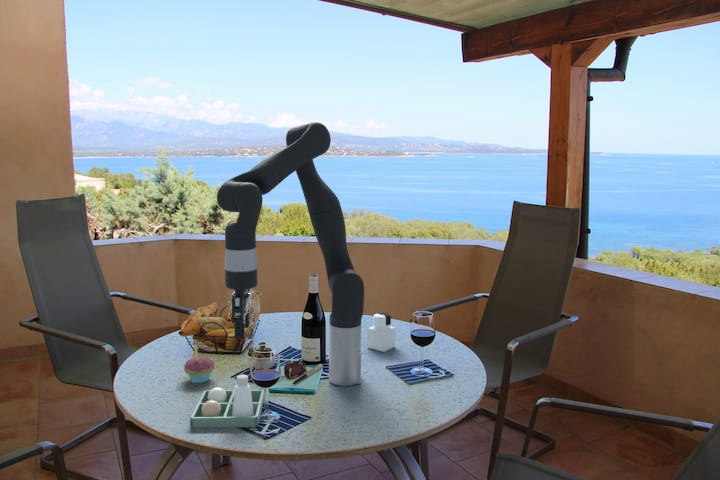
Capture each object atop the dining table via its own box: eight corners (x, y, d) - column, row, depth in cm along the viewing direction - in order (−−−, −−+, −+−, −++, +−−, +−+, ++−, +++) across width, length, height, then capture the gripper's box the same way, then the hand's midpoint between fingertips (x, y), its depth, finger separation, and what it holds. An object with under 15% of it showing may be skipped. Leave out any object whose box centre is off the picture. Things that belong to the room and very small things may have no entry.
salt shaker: (241, 411, 139) (241, 370, 137) (258, 416, 136) (258, 374, 135) (226, 420, 134) (226, 377, 132) (244, 425, 131) (243, 382, 130)
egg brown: (223, 414, 137) (222, 396, 136) (219, 423, 132) (219, 405, 131) (203, 414, 137) (203, 396, 136) (199, 424, 132) (198, 405, 131)
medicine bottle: (378, 342, 195) (379, 309, 193) (395, 346, 191) (396, 313, 189) (367, 347, 189) (367, 314, 187) (384, 352, 185) (385, 318, 183)
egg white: (228, 401, 144) (227, 384, 144) (225, 409, 140) (224, 391, 139) (209, 401, 144) (209, 384, 143) (205, 409, 139) (205, 392, 139)
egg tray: (264, 400, 147) (264, 389, 146) (257, 429, 131) (257, 417, 131) (204, 400, 146) (204, 390, 145) (190, 430, 130) (190, 418, 130)
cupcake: (206, 388, 153) (205, 347, 152) (178, 385, 155) (177, 345, 153) (220, 376, 162) (219, 337, 160) (193, 374, 163) (192, 335, 162)
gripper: (253, 273, 122) (254, 342, 125) (260, 261, 136) (261, 324, 139) (219, 273, 122) (221, 343, 124) (229, 261, 136) (231, 324, 138)
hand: (242, 333), depth 131 cm, fingers open, 8 cm apart
